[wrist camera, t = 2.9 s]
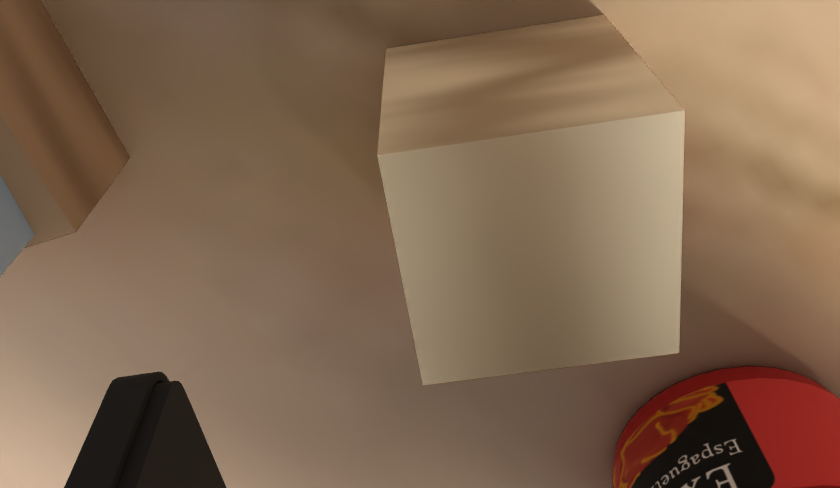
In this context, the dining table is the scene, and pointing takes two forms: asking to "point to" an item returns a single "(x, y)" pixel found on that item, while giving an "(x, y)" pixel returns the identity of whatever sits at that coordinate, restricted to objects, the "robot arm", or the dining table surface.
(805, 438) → the canned food
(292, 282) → the dining table surface
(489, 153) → the maple block
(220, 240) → the dining table surface
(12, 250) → the tower top block
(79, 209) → the tower base block
